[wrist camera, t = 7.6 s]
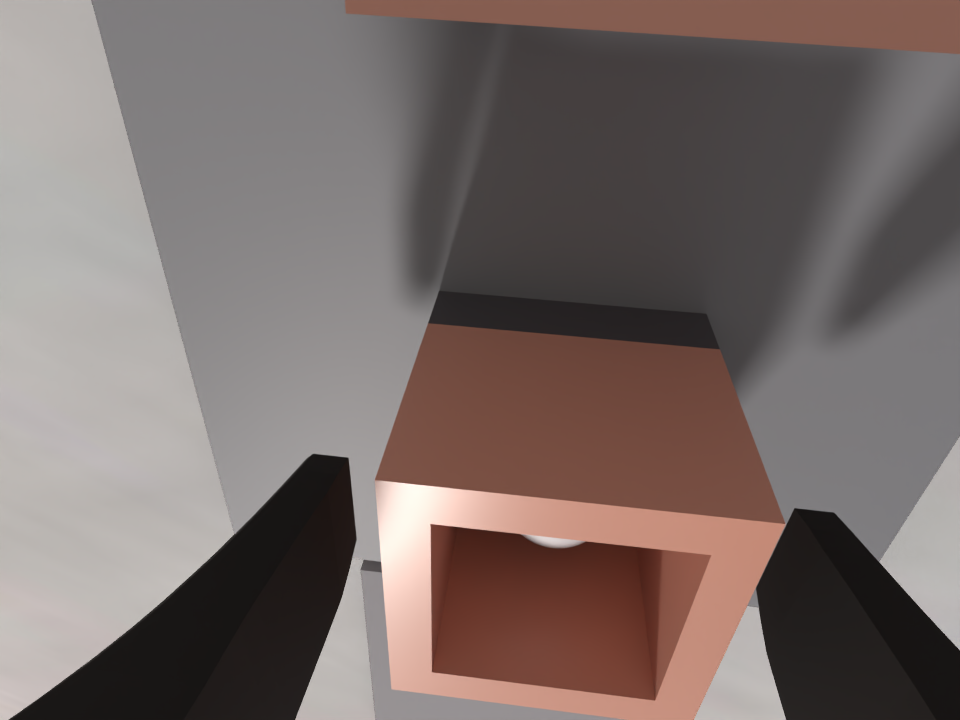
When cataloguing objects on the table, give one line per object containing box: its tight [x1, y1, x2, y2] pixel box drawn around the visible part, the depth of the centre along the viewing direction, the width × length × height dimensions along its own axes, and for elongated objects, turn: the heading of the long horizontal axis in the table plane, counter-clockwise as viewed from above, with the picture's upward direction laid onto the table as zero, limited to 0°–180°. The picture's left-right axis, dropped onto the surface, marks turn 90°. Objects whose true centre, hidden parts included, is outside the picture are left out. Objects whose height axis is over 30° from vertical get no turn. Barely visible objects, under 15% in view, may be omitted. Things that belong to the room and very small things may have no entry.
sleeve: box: [375, 291, 785, 720], centre depth 11 cm, size 5×5×5 cm
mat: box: [361, 560, 625, 720], centre depth 22 cm, size 10×10×1 cm
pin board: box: [92, 0, 960, 607], centre depth 9 cm, size 16×22×5 cm
